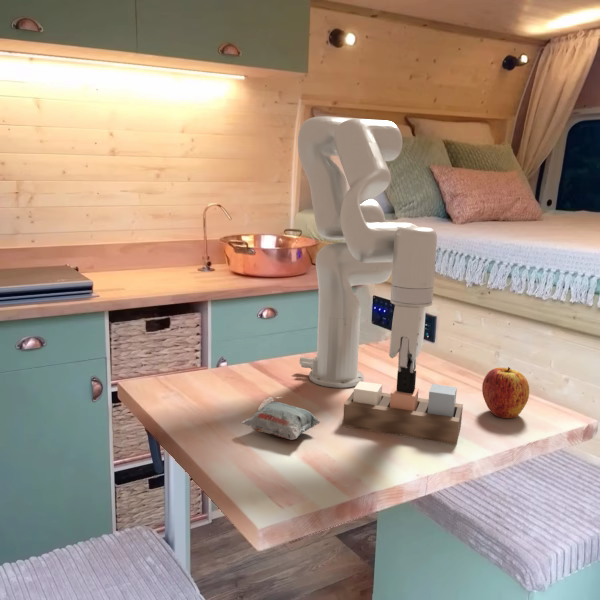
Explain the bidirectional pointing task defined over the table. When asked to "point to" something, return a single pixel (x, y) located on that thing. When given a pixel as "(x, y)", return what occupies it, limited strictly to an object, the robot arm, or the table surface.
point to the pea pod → (267, 402)
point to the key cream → (368, 393)
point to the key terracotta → (404, 399)
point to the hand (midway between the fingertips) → (405, 390)
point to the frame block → (403, 420)
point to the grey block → (442, 400)
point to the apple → (505, 392)
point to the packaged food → (282, 420)
